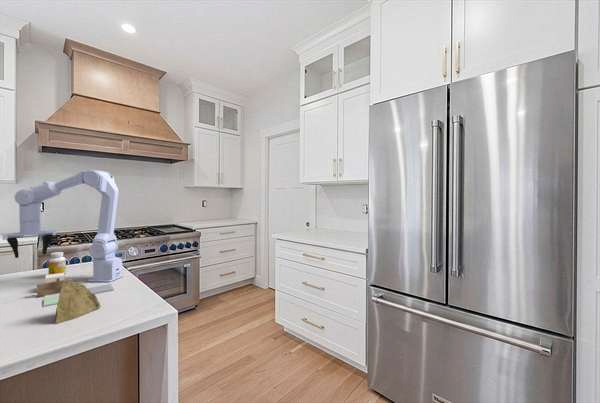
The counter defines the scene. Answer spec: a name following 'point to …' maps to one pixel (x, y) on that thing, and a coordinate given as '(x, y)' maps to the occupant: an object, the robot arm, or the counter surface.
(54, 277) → the lettered cube
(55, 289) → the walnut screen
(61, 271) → the supplement bottle
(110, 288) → the grey mat
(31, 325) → the counter surface
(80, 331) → the counter surface
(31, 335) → the counter surface
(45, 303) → the green mat
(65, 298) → the rock
